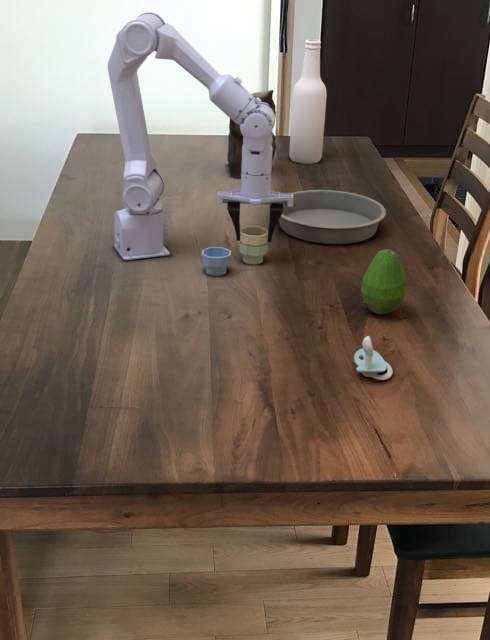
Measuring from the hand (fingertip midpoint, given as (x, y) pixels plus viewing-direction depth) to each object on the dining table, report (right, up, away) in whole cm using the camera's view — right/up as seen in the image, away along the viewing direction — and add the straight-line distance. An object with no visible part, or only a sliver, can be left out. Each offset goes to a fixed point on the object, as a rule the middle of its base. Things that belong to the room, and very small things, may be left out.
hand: (253, 239), depth 176 cm
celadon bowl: (0, -4, +2) cm, 4 cm away
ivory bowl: (0, -2, +1) cm, 2 cm away
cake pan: (+16, +6, +20) cm, 27 cm away
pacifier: (+19, -28, -35) cm, 48 cm away
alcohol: (+14, +33, +64) cm, 73 cm away
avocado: (+23, -16, -16) cm, 32 cm away
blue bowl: (-7, -7, -3) cm, 10 cm away
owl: (-2, +27, +53) cm, 60 cm away
